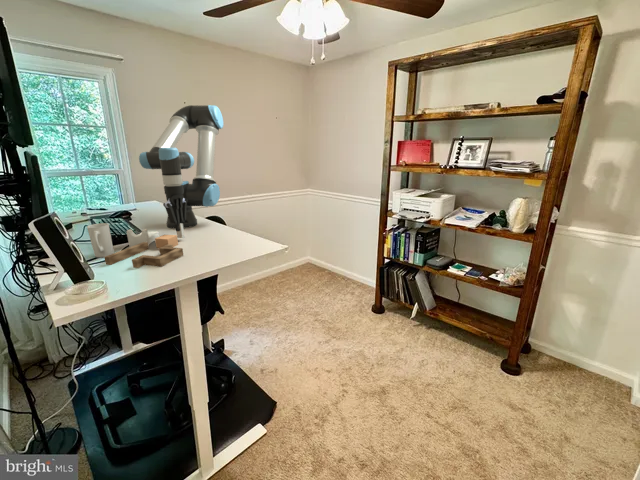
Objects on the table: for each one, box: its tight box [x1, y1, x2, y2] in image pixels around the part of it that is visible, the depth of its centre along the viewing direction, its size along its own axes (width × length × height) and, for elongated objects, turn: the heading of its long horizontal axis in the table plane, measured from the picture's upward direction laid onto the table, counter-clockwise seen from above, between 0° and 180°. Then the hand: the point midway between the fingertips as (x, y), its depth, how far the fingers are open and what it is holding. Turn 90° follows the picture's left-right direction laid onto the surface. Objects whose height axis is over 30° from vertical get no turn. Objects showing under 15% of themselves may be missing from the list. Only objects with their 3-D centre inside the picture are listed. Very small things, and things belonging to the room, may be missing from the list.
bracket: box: [126, 228, 160, 248], centre depth 133 cm, size 13×7×8 cm, turn 6°
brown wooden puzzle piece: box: [103, 242, 184, 269], centre depth 115 cm, size 18×21×3 cm
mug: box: [86, 222, 115, 258], centre depth 116 cm, size 10×7×12 cm, turn 22°
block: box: [154, 234, 179, 250], centre depth 128 cm, size 6×6×4 cm
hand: (181, 237), depth 137 cm, fingers closed
